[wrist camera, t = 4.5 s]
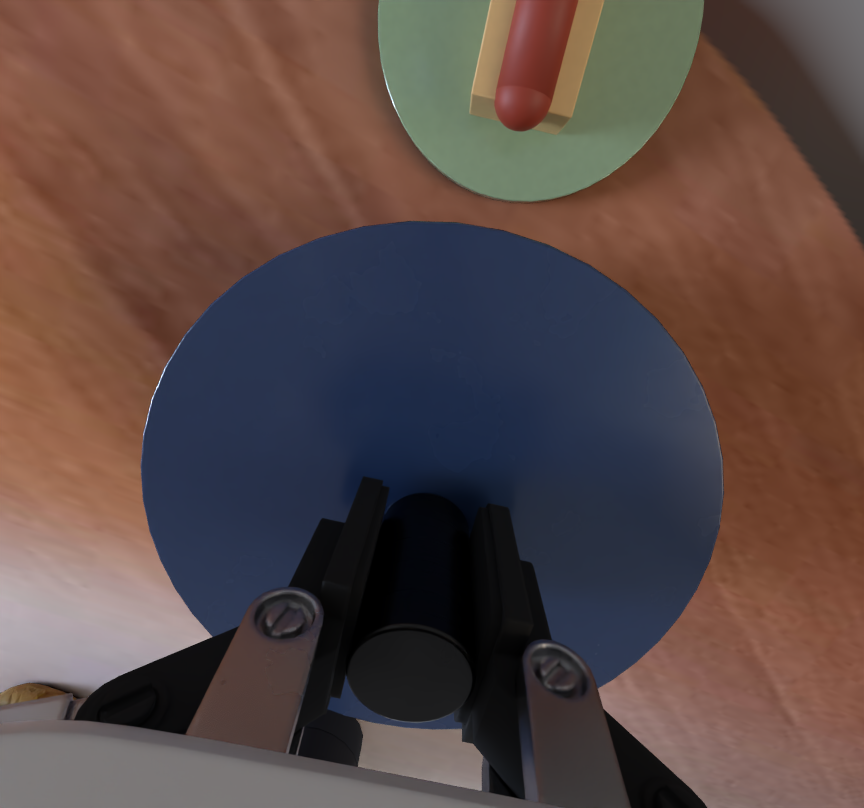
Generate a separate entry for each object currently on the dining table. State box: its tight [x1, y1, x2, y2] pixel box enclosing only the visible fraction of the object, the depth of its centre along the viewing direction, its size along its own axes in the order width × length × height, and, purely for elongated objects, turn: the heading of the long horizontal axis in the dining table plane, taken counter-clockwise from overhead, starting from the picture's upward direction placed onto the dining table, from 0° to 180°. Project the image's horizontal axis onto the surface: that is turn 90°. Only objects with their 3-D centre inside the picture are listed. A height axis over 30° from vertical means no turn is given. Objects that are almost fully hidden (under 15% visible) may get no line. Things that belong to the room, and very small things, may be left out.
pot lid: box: [141, 221, 724, 729], centre depth 11 cm, size 16×16×6 cm
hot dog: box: [469, 0, 604, 135], centre depth 15 cm, size 8×4×3 cm, turn 168°
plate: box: [378, 0, 704, 203], centre depth 17 cm, size 12×12×1 cm
